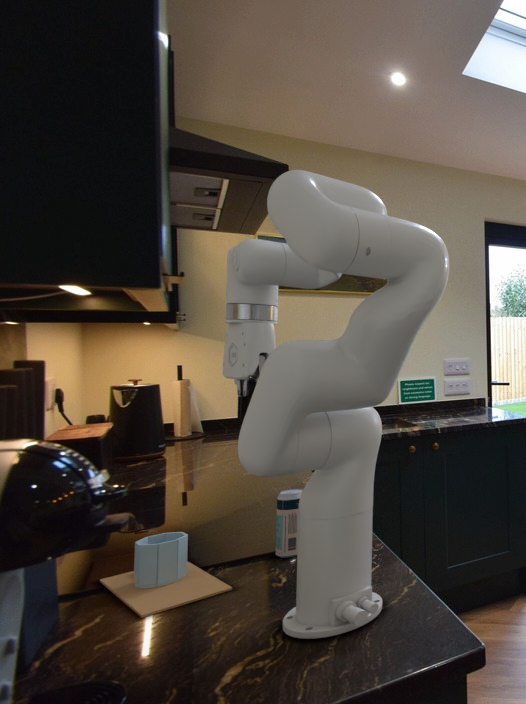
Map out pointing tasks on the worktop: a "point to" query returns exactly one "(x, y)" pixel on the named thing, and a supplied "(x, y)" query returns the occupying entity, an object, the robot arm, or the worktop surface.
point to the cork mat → (165, 591)
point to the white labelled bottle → (287, 523)
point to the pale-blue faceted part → (160, 559)
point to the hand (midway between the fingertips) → (249, 418)
